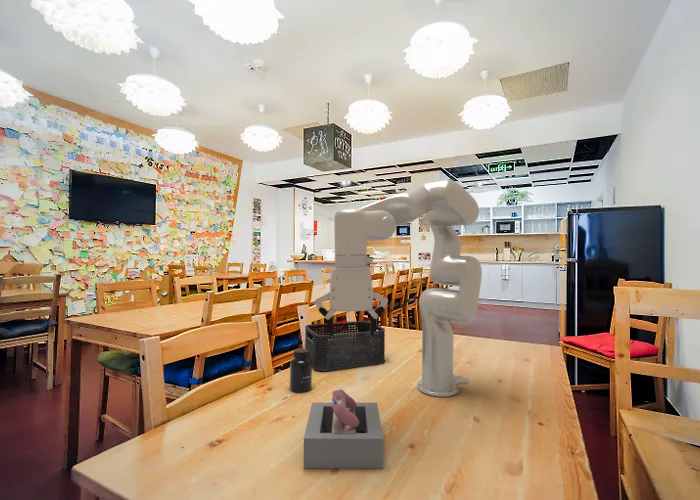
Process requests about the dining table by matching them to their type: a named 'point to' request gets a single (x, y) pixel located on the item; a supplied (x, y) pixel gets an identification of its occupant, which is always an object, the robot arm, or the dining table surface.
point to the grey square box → (343, 439)
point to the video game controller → (344, 408)
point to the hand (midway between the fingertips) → (351, 334)
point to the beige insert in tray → (342, 425)
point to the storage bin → (344, 346)
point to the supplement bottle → (301, 371)
